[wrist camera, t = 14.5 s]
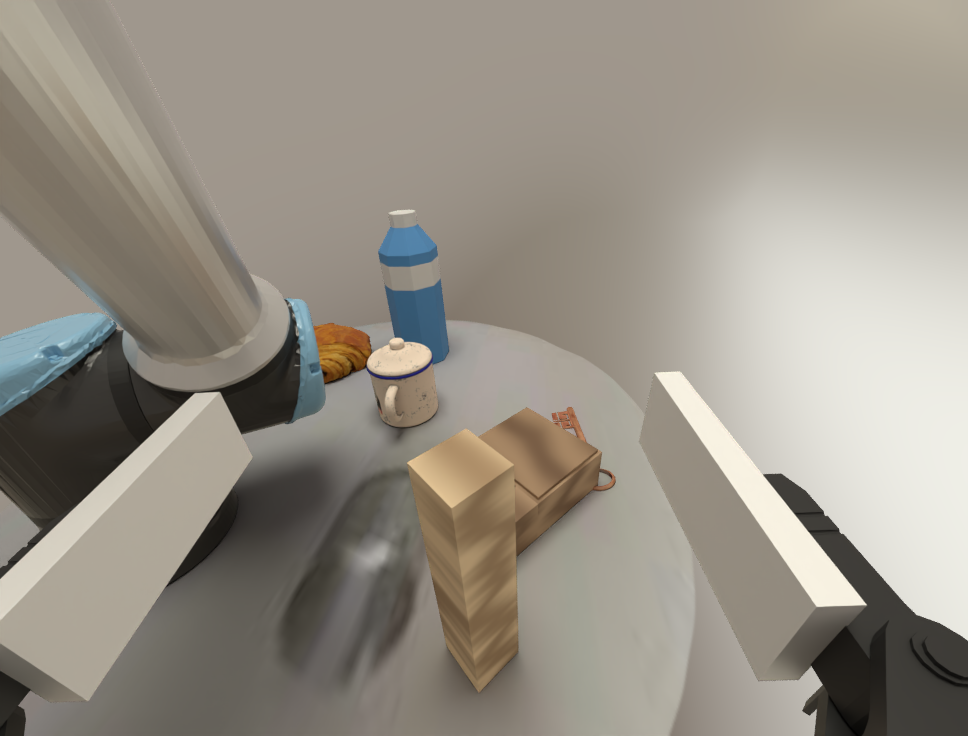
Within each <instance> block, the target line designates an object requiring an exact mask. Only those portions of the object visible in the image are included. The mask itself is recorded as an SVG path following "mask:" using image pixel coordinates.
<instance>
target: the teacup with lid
mask: <svg viewBox="0 0 968 736" xmlns="http://www.w3.org/2000/svg"><path fill="white" fill-rule="evenodd" d="M432 362H433V354H432V353H431V351H430V350H429V348H427V347H426V346H424V345H422V344H419V343H415V342H404V340H403V339H402V338H393V339H391V340H390V342H389V345H387V346H384V347H382V348H380V349H378V350H376V351H375V352H373V353H372V354H371V355H370V357H369V358H368V361H367V371H368V372H369V373H370V376H371V380H372V384H373V388H374V392H375V397H376V401H377V405H378V409H379V413H380V416H381V418H382V420H383V421H384V422H385V423H387V424H389V425H392V426H395V427H410V426H415V425H418V424H421V423H423V422H425V421H427V420H428V419H430V418H431V417H432V416H433V415H434V414H435V413H436V411H437V408H438V399H437V392H436V385H435V379H434V372H433V365H432Z"/></svg>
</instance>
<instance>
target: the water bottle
mask: <svg viewBox="0 0 968 736" xmlns="http://www.w3.org/2000/svg"><path fill="white" fill-rule="evenodd" d="M388 215H389V220H390V226H391V227H390V229H389V231H388V233H387V235H386V237H385V239H384V241H383V243H382V245H381V247H380V249H379V251H378V253H379V259H380V264H381V269H382V274H383V279H384V284H385V289H386V294H387V299H388V305H389V310H390V315H391V320H392V325H393V330H394V335H395V338H402V339H403V340H404V342H415V343H419V344H422V345H424V346H426V347H427V348H429V350H430V351H431V353H432V354H433V362H432V364H435V363H438V362H441V361H443V360H444V359H445V357H446V355H447V354H448V352H449V346H448V338H447V329H446V321H445V312H444V304H443V295H442V287H441V279H440V271H439V261H438V253H437V246H436V244H435V243H434V242H433V241H432V240H431V239H430V238H429V236H428V235H427V234H426V233H425V232H424V231H423V230H422V229H421V227H419V225H418V224H417V217H416V211H414V210H399V211H394V212H390V213H388Z"/></svg>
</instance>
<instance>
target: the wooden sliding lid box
mask: <svg viewBox="0 0 968 736" xmlns="http://www.w3.org/2000/svg"><path fill="white" fill-rule="evenodd" d="M478 438H479V439H481V440H482V441H483V442H485V443H486V444H487V445H489V446H490V447H491V448H493V449H494V450H495V451H497V452H498V453H499V454H501V455H502V456H503V457H505V458H506V459H507V460H508V461H510V462H511V463H512V464H514V483H515V526H516V556H518V555H519V554H520V553H521V552H522V551H523V550H524V549H526V548H527V547H528V546H529V545H530V544H531V543H532V542H533V541H535V540H536V539H537V538H538V537H539V536H540V535H541V534H543V533H544V532H545V531H546V530H547V529H548V528H549V527H551V526H552V525H553V524H554V523H555V522H556V521H557V520H558V519H560V518H561V517H562V516H563V515H564V514H565V513H566V512H568V511H569V510H570V509H571V508H572V507H573V506H574V505H576V504H577V503H578V502H579V501H580V500H581V499H582V498H584V497H585V496H586V495H587V494H588V493H589V492H590V491H591V490H593V487H594V486H597V485H598V478H599V471H600V463H601V456H602V452H601V451H599V450H598V449H596V448H595V447H593V446H591V445H590V444H588V443H586V442H585V441H583V440H581V439H580V438H578V437H576V436H574V435H573V434H571V433H569V432H568V431H566V430H564V429H563V428H561V427H559V426H558V425H556V424H554V423H553V422H551V421H549V420H548V419H546V418H544V417H542V416H541V415H539V414H537V413H536V412H534V411H532V410H531V409H529V408H525V409H523V410H522V411H520V412H518V413H517V414H515V415H513V416H512V417H510V418H508V419H507V420H505V421H503V422H502V423H500V424H499V425H497V426H495V427H494V428H492V429H490V430H489V431H487V432H485V433H484V434H482V435H480V436H479V437H478Z"/></svg>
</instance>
